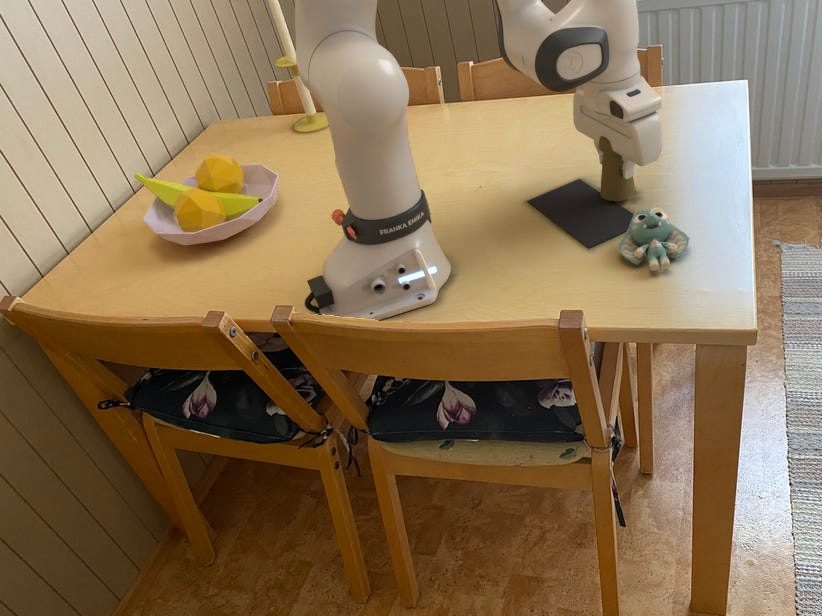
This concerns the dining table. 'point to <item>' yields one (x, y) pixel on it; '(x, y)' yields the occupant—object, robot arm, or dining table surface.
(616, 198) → the cork
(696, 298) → the dining table surface
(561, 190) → the mat
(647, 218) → the stuffed animal
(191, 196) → the fruit bowl
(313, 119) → the candle
